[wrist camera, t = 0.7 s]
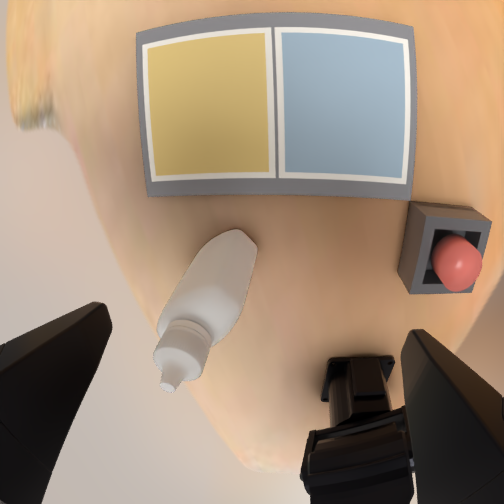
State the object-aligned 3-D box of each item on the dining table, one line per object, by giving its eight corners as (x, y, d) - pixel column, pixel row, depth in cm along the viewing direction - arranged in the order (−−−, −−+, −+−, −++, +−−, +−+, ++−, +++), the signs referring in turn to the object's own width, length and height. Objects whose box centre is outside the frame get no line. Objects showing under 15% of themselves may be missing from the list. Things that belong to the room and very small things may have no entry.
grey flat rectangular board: (407, 198, 18) (410, 201, 18) (151, 194, 21) (147, 197, 20) (409, 28, 13) (413, 26, 12) (140, 34, 15) (135, 32, 15)
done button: (462, 275, 17) (473, 291, 16) (426, 276, 18) (436, 292, 16) (473, 234, 16) (487, 247, 14) (436, 232, 16) (449, 245, 15)
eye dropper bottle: (267, 277, 22) (243, 416, 12) (198, 288, 24) (139, 411, 13) (252, 223, 21) (209, 349, 10) (179, 238, 22) (95, 351, 11)
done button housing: (455, 272, 20) (471, 292, 17) (397, 272, 21) (409, 294, 18) (471, 206, 18) (491, 221, 15) (409, 201, 18) (426, 215, 16)
